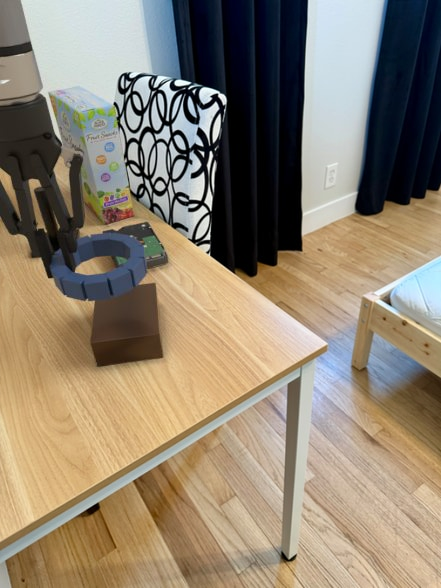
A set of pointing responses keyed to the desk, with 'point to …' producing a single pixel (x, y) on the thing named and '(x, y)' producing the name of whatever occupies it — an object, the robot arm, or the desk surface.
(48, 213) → the post
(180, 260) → the desk surface
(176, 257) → the desk surface
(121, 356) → the stand
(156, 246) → the disk drive
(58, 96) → the snack box
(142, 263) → the ring
